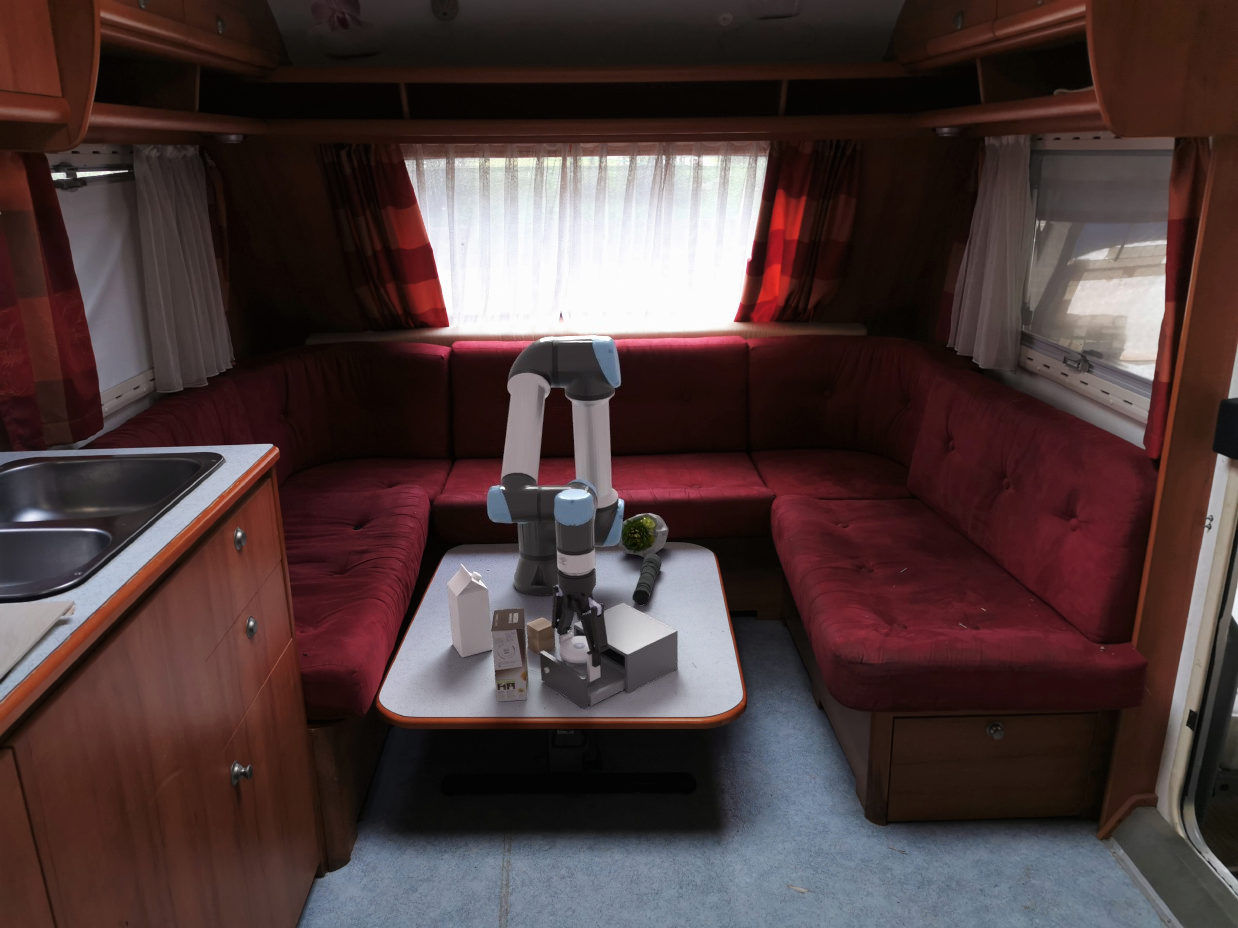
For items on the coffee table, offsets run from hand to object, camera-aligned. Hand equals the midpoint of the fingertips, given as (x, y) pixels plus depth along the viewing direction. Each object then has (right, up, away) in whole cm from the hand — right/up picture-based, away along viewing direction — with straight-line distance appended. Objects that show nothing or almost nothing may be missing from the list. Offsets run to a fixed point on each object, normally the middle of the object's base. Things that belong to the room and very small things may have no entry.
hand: (580, 670), depth 184 cm
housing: (+9, -1, +9) cm, 13 cm away
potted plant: (+14, +17, +62) cm, 66 cm away
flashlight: (+15, +11, +44) cm, 48 cm away
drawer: (+1, -3, +2) cm, 4 cm away
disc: (0, +4, -1) cm, 4 cm away
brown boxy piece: (-9, +1, +16) cm, 19 cm away
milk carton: (-25, +1, +18) cm, 30 cm away
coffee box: (-14, -4, +1) cm, 15 cm away
